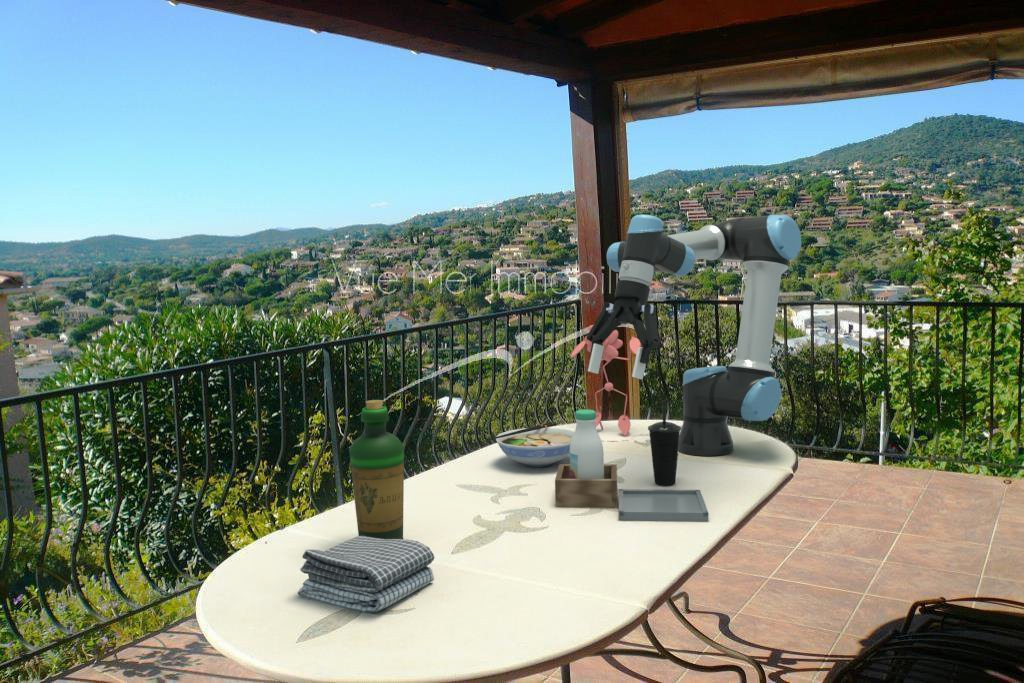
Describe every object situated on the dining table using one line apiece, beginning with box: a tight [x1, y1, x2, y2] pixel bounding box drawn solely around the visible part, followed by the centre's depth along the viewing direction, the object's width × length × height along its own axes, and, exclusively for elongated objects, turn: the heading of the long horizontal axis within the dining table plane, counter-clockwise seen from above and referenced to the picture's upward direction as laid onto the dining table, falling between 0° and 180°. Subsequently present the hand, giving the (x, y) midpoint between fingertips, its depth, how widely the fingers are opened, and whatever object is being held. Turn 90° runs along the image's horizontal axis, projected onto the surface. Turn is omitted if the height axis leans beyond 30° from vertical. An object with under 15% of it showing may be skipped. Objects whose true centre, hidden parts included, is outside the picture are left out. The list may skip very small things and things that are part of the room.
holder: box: [554, 463, 618, 509], centre depth 176 cm, size 13×13×6 cm
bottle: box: [348, 399, 405, 539], centre depth 151 cm, size 11×11×28 cm
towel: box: [297, 535, 435, 614], centre depth 131 cm, size 15×18×8 cm
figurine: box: [570, 324, 643, 443], centre depth 236 cm, size 15×26×35 cm, turn 53°
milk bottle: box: [568, 409, 605, 479], centre depth 176 cm, size 8×8×20 cm
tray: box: [618, 488, 709, 522], centre depth 168 cm, size 18×16×2 cm
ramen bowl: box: [486, 421, 575, 468], centre depth 208 cm, size 25×23×8 cm
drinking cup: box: [647, 399, 682, 487], centre depth 185 cm, size 8×8×20 cm
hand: (614, 375), depth 174 cm, fingers open, 13 cm apart
